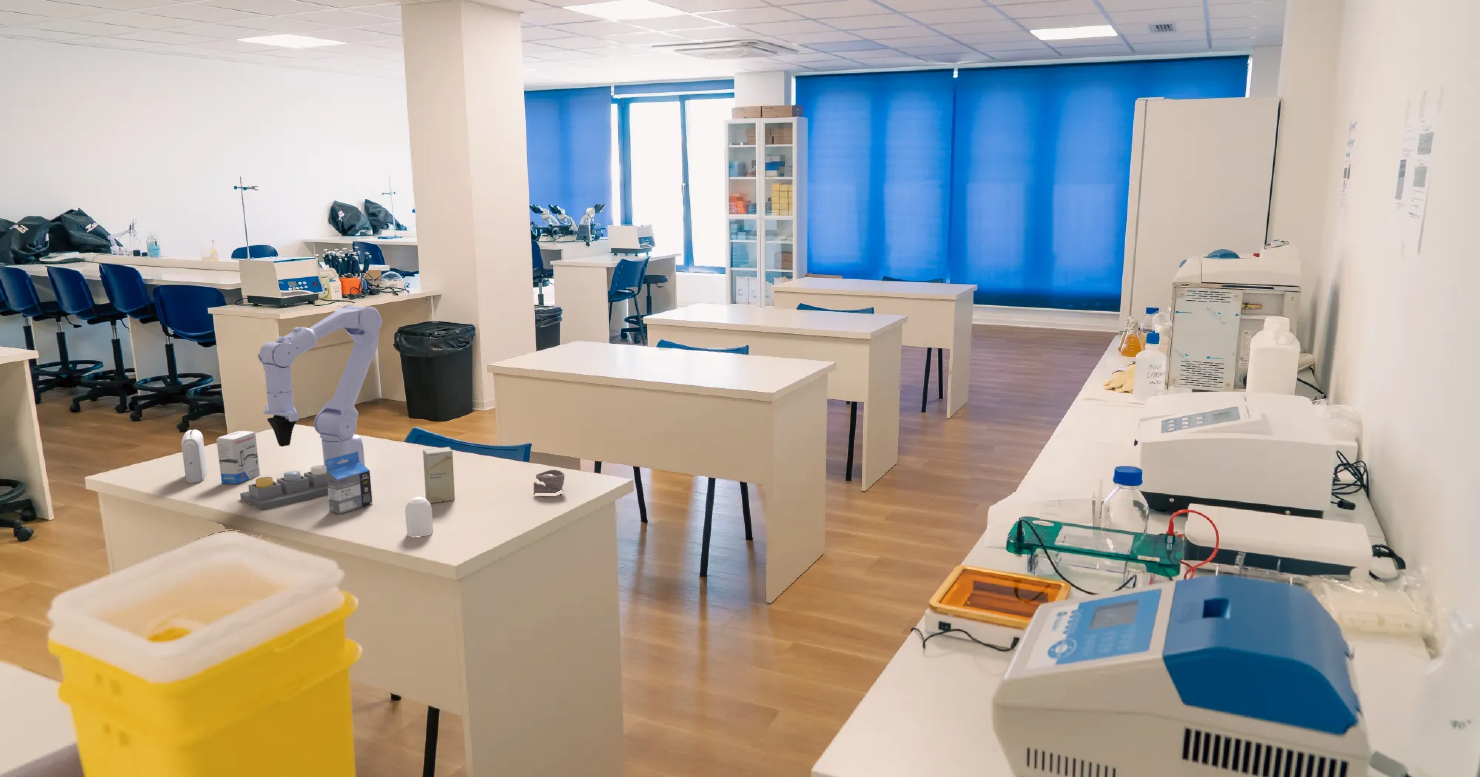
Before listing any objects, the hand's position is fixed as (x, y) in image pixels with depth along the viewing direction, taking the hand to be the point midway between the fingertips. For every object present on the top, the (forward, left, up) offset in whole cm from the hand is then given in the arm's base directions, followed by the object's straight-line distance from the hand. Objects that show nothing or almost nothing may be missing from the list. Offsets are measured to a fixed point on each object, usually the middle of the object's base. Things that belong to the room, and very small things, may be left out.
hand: (284, 445), depth 234 cm
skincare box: (-19, +38, -11) cm, 44 cm away
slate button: (+2, +8, -8) cm, 11 cm away
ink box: (+6, -15, -11) cm, 19 cm away
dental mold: (-40, +54, -11) cm, 68 cm away
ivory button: (-4, +8, -8) cm, 12 cm away
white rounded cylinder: (-4, +55, -11) cm, 56 cm away
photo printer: (+13, -25, -11) cm, 30 cm away
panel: (+2, +8, -10) cm, 13 cm away
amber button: (+9, +8, -8) cm, 14 cm away
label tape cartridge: (-2, +28, -11) cm, 30 cm away
